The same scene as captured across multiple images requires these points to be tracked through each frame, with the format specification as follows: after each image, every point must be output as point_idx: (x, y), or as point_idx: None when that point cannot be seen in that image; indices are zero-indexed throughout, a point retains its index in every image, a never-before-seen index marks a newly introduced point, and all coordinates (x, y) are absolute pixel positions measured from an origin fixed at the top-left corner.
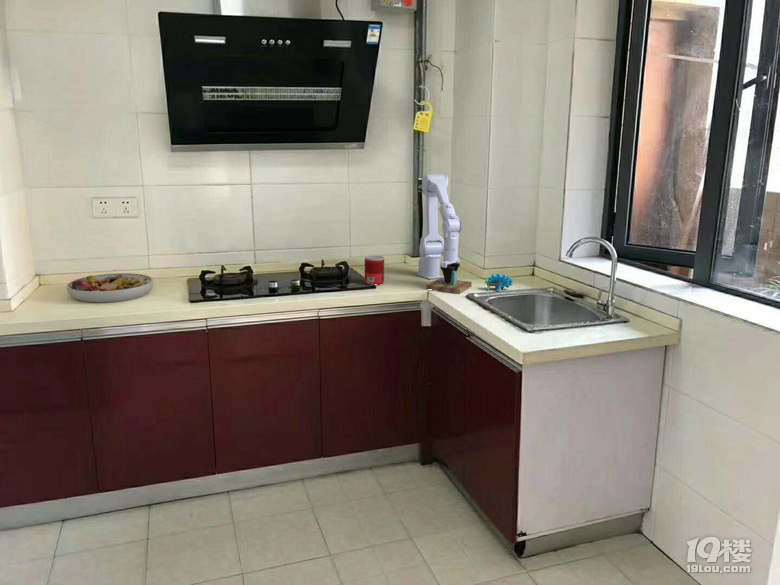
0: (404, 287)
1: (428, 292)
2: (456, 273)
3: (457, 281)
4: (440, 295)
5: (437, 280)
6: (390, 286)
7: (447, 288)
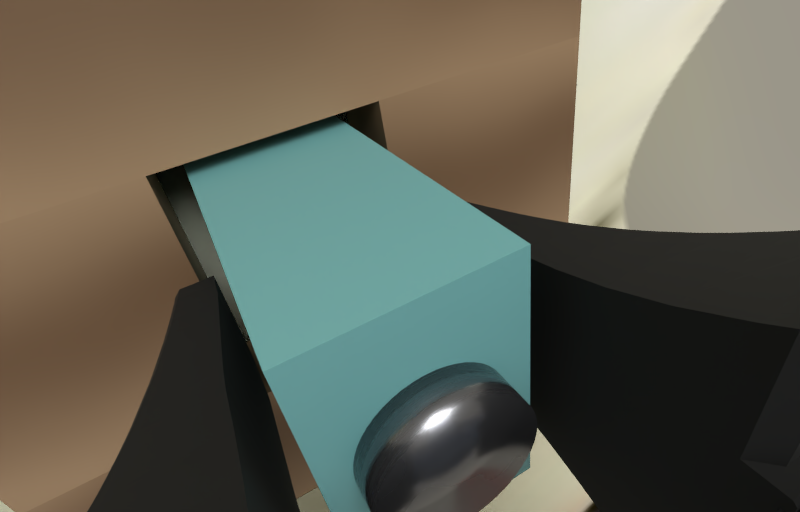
0: (538, 445)
1: (599, 224)
2: (301, 299)
3: (6, 296)
4: (664, 38)
5: (296, 476)
6: (555, 490)
7: (565, 74)
